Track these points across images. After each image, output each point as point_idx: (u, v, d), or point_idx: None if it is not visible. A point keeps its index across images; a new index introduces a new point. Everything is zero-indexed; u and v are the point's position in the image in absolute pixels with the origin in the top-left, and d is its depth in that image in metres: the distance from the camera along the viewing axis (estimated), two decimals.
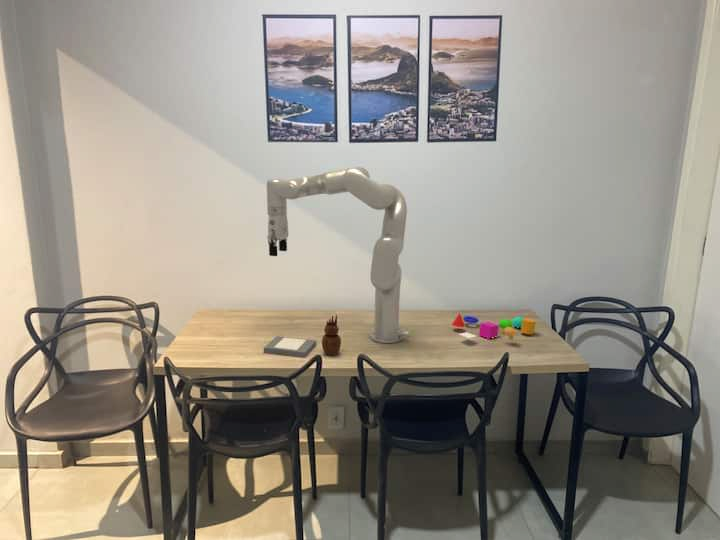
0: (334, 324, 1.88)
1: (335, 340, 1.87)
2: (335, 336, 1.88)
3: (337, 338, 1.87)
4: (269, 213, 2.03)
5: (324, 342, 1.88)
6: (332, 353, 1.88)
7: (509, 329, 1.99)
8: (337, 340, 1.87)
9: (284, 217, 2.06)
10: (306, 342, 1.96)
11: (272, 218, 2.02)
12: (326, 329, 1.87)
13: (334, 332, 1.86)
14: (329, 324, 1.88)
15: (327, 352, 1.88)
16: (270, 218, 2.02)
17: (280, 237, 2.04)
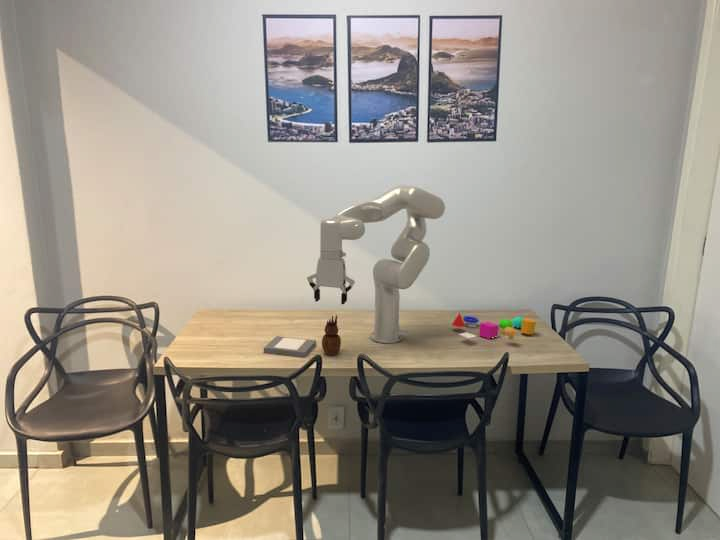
0: (334, 324, 1.88)
1: (335, 340, 1.87)
2: (335, 336, 1.88)
3: (337, 338, 1.87)
4: (338, 258, 1.79)
5: (324, 342, 1.88)
6: (332, 353, 1.88)
7: (509, 329, 1.99)
8: (337, 340, 1.87)
9: None
10: (306, 342, 1.96)
11: (343, 262, 1.81)
12: (326, 329, 1.87)
13: (334, 332, 1.86)
14: (329, 324, 1.88)
15: (327, 352, 1.88)
16: (342, 263, 1.80)
17: None
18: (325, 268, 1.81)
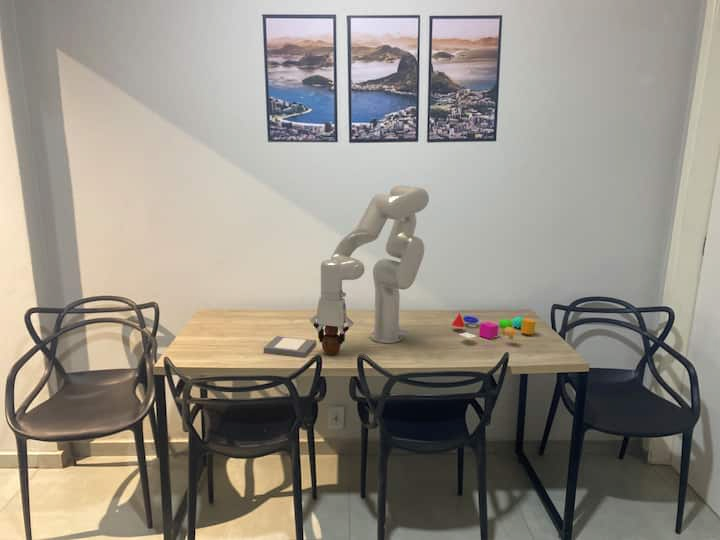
0: None
1: (335, 340, 1.87)
2: (335, 336, 1.88)
3: (337, 338, 1.87)
4: (338, 299, 1.83)
5: (324, 342, 1.88)
6: (332, 353, 1.88)
7: (509, 329, 1.99)
8: (337, 340, 1.87)
9: None
10: (306, 342, 1.96)
11: (343, 302, 1.85)
12: (326, 329, 1.87)
13: (334, 332, 1.86)
14: None
15: (327, 352, 1.88)
16: (342, 303, 1.84)
17: None
18: (325, 308, 1.84)
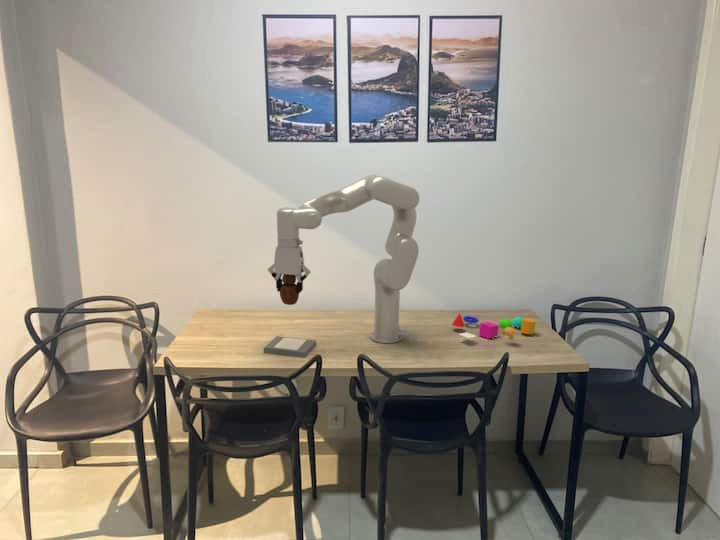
0: None
1: (292, 289, 1.86)
2: (293, 285, 1.87)
3: (294, 287, 1.87)
4: (295, 246, 1.82)
5: (282, 291, 1.87)
6: (290, 302, 1.87)
7: (509, 329, 1.99)
8: (294, 289, 1.86)
9: None
10: (306, 342, 1.96)
11: (300, 250, 1.84)
12: (283, 278, 1.86)
13: (291, 280, 1.86)
14: None
15: (285, 301, 1.88)
16: (299, 251, 1.83)
17: None
18: (282, 256, 1.84)
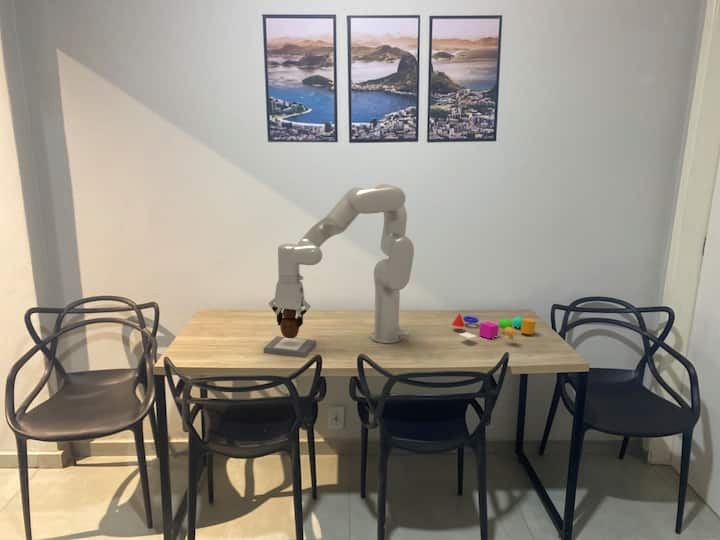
0: None
1: (293, 323, 1.89)
2: (293, 319, 1.90)
3: (295, 321, 1.90)
4: (295, 282, 1.86)
5: (282, 325, 1.90)
6: (290, 336, 1.90)
7: (509, 329, 1.99)
8: (295, 323, 1.90)
9: None
10: (306, 342, 1.96)
11: (301, 285, 1.87)
12: (284, 312, 1.90)
13: (291, 315, 1.89)
14: None
15: (285, 335, 1.91)
16: (299, 286, 1.87)
17: None
18: (283, 291, 1.87)
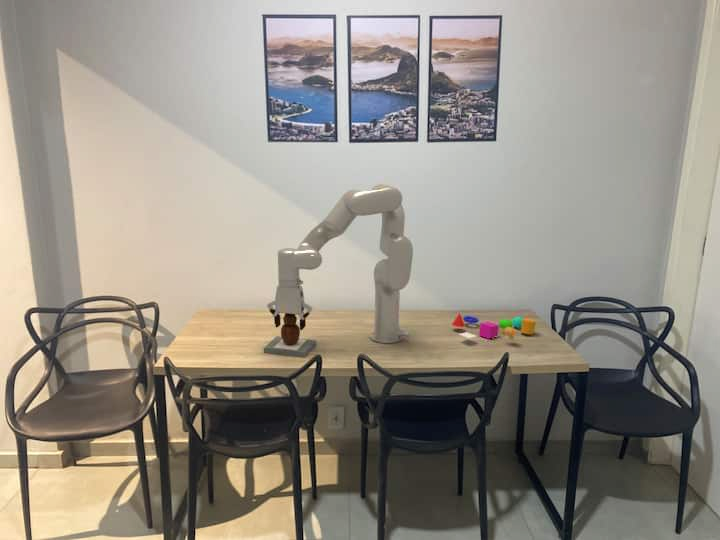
0: (292, 314, 1.91)
1: (293, 330, 1.90)
2: (293, 326, 1.91)
3: (295, 328, 1.91)
4: (295, 286, 1.86)
5: (283, 332, 1.91)
6: (291, 342, 1.91)
7: (509, 329, 1.98)
8: (295, 330, 1.90)
9: None
10: (306, 342, 1.96)
11: (301, 290, 1.88)
12: (284, 319, 1.90)
13: (292, 321, 1.90)
14: (287, 314, 1.91)
15: (286, 342, 1.92)
16: (299, 290, 1.87)
17: None
18: (283, 295, 1.87)
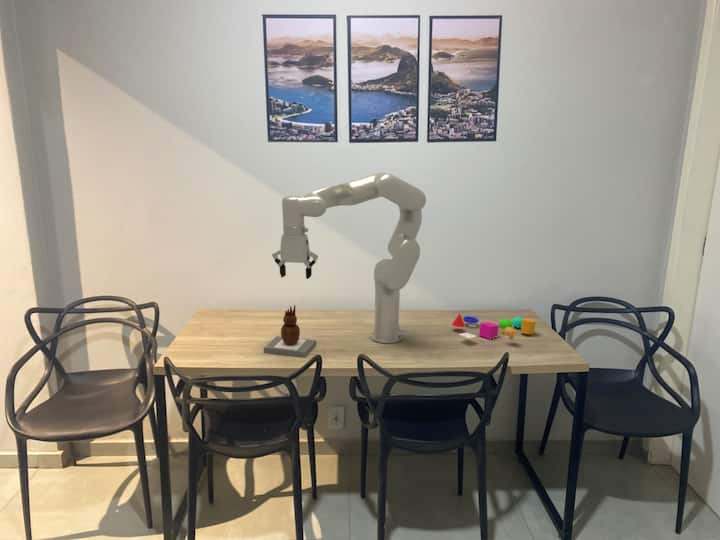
0: (292, 314, 1.91)
1: (293, 330, 1.90)
2: (293, 326, 1.91)
3: (295, 328, 1.91)
4: (300, 234, 1.84)
5: (283, 332, 1.91)
6: (291, 342, 1.91)
7: (509, 329, 1.98)
8: (295, 330, 1.90)
9: None
10: (306, 342, 1.96)
11: (306, 238, 1.86)
12: (284, 319, 1.90)
13: (292, 321, 1.90)
14: (288, 314, 1.91)
15: (286, 342, 1.92)
16: (305, 238, 1.85)
17: None
18: (288, 244, 1.86)
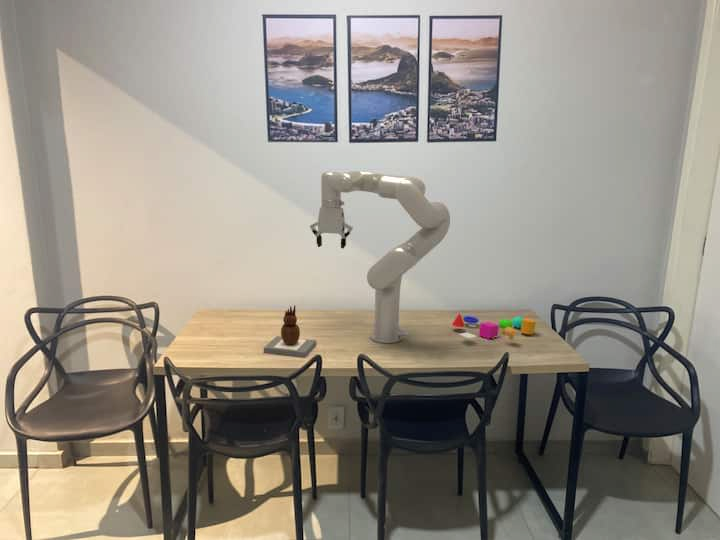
0: (292, 314, 1.91)
1: (293, 330, 1.90)
2: (293, 326, 1.91)
3: (295, 328, 1.91)
4: (337, 206, 2.01)
5: (283, 332, 1.91)
6: (291, 342, 1.91)
7: (509, 329, 1.98)
8: (295, 330, 1.90)
9: None
10: (306, 342, 1.96)
11: (342, 210, 2.03)
12: (284, 319, 1.90)
13: (292, 321, 1.90)
14: (288, 314, 1.91)
15: (286, 342, 1.92)
16: (341, 211, 2.02)
17: None
18: (326, 215, 2.03)
